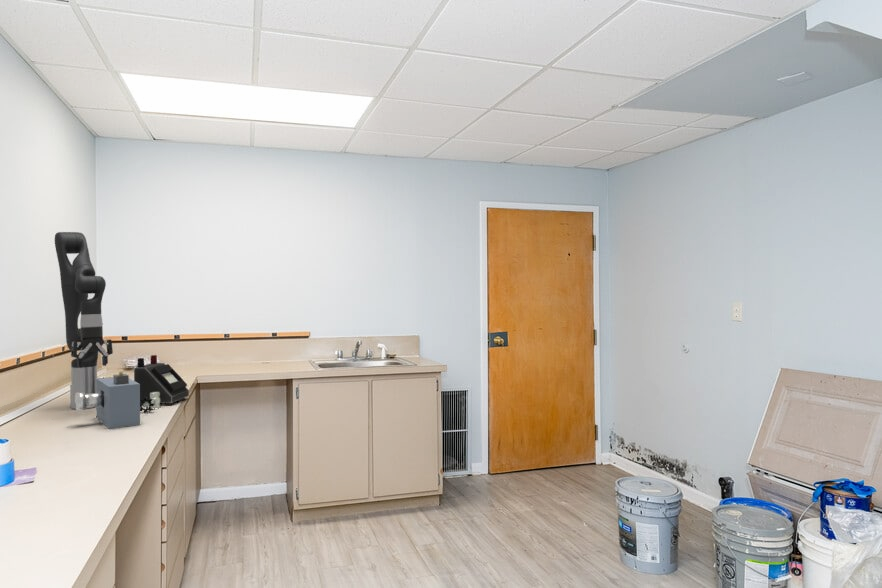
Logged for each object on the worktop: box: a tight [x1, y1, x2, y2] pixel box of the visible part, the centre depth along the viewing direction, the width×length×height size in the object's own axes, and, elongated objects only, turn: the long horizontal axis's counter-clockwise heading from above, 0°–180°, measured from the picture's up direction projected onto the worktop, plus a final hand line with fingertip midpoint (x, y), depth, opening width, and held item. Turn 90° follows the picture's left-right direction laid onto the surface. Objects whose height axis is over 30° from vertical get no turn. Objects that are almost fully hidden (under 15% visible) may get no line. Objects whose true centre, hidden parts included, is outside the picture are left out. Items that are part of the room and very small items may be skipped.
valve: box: [140, 392, 161, 414], centre depth 240 cm, size 7×7×12 cm
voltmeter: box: [133, 354, 190, 406], centre depth 256 cm, size 16×16×20 cm
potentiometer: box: [113, 369, 130, 385], centre depth 215 cm, size 5×4×5 cm
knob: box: [75, 392, 104, 411], centre depth 214 cm, size 6×9×6 cm
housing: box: [95, 377, 141, 430], centre depth 220 cm, size 24×10×15 cm, turn 40°
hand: (92, 366), depth 231 cm, fingers open, 8 cm apart
